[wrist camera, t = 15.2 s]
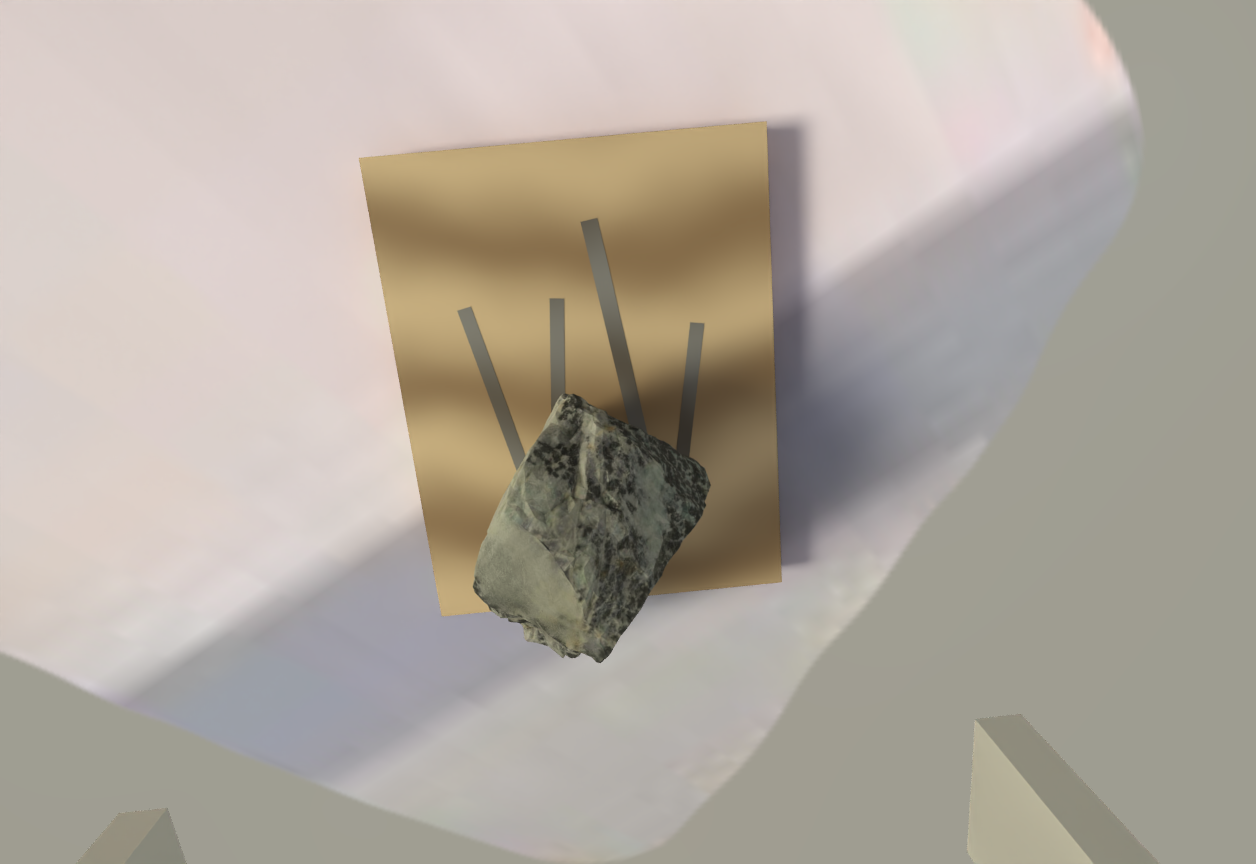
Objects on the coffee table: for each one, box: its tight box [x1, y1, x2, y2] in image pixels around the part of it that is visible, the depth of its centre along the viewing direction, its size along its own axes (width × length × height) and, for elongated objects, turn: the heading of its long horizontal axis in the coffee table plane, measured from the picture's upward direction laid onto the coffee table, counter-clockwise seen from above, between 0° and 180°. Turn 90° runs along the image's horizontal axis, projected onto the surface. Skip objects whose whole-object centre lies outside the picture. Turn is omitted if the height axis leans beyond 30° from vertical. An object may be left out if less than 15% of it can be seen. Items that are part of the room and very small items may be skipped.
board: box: [359, 121, 782, 616], centre depth 29 cm, size 20×16×2 cm
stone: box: [473, 393, 711, 663], centre depth 26 cm, size 10×10×10 cm
